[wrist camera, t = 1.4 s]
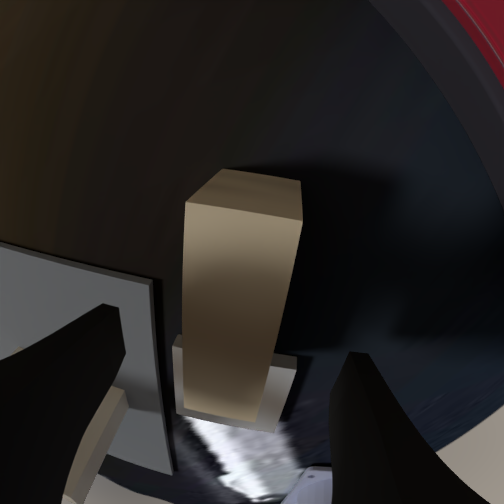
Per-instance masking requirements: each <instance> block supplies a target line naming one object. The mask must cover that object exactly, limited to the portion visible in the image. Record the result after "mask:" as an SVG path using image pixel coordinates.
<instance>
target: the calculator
mask: <svg viewBox="0 0 504 504" xmlns="http://www.w3.org/2000/svg"><path fill="white" fill-rule="evenodd" d="M368 1H369V2H370V3H371V4H372V5H373V6H374V7H375V8H376V9H377V10H378V11H379V13H380V14H381V15H382V16H383V17H384V18H385V19H386V20H387V21H388V23H389V24H390V25H391V26H392V27H393V28H394V30H395V31H396V32H397V33H398V34H399V36H400V37H401V38H402V39H403V40H404V42H405V43H406V44H407V45H408V47H409V48H410V49H411V50H412V52H413V53H414V54H415V56H416V57H417V58H418V60H419V61H420V62H421V64H422V65H423V66H424V68H425V69H426V71H427V72H428V73H429V75H430V76H431V78H432V79H433V81H434V82H435V84H436V85H437V87H438V88H439V89H440V91H441V92H442V94H443V95H444V97H445V98H446V100H447V102H448V103H449V105H450V106H451V108H452V109H453V111H454V113H455V114H456V116H457V118H458V119H459V121H460V123H461V124H462V126H463V128H464V129H465V131H466V133H467V135H468V136H469V138H470V140H471V142H472V144H473V146H474V147H475V149H476V151H477V153H478V155H479V157H480V159H481V161H482V163H483V165H484V167H485V169H486V171H487V173H488V175H489V178H490V180H491V182H492V184H493V186H494V189H495V191H496V193H497V196H498V198H499V200H500V203H501V205H502V208H503V211H504V0H368Z"/></svg>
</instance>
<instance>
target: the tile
mask: <svg viewBox="0 0 504 504" xmlns="http://www.w3.org/2000/svg"><path fill="white" fill-rule="evenodd" d="M21 350H23V348H21V347H19V346H18V347H17V349H16V350H15V351H14V352H13V353H12V354H11V355H13V354H15V353H17V352H19V351H21ZM11 355H10V356H11ZM128 408H129V405H128V401H127V398H126V394H125V390H123V389H120V388H117V387H114V386H111V387H110V389H109V391H108V392H107V394H106V396H105V398H104V399H103V401H102V403H101V404H100V406H99V408H98V410H97V411H96V413H95V415H94V417H93V418H92V420H91V422H90V424H89V425H88V427H87V429H86V431H85V433H84V435H83V437H82V440H81V442H80V445H79V447H78V450H77V453H76V455H75V458H74V461H73V464H72V467H71V470H70V473H69V476H68V479H67V482H66V486H65V490H64V494H63V498H64V499H66V500H68V501H70V502H71V503H74V504H83V503H84V501H85V499H86V497H87V494H88V492H89V490H90V488H91V486H92V483H93V481H94V479H95V477H96V475H97V472H98V470H99V468H100V466H101V464H102V462H103V460H104V457H105V455H106V453H107V451H108V449H109V447H110V445H111V443H112V441H113V438H114V436H115V434H116V432H117V430H118V428H119V426H120V424H121V422H122V420H123V418H124V416H125V414H126V412H127V410H128Z"/></svg>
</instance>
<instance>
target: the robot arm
mask: <svg viewBox="0 0 504 504" xmlns="http://www.w3.org/2000/svg"><path fill="white" fill-rule="evenodd" d="M125 355H126V349H125V344H124V338H123V331H122V325H121V318H120V311H119V307H115V306H112V305H108V304H104V303H102V304H101V305H99V306H97V307H95V308H93V309H92V310H90V311H88V312H87V313H85V314H83V315H82V316H80V317H78V318H77V319H75V320H74V321H72V322H70V323H69V324H67V325H65V326H64V327H62V328H60V329H59V330H57V331H55V332H54V333H52V334H50V335H49V336H47V337H45V338H43V339H41V340H40V341H38V342H36V343H34V344H32V345H31V346H29V347H27V348H25V349H23V350H21V351H19V352H17V353H15V354H13V355H11V356H8V357H6V358H4V359H2V360H0V504H61V501H62V498H63V494H64V490H65V486H66V482H67V479H68V476H69V473H70V470H71V467H72V464H73V461H74V458H75V455H76V453H77V450H78V447H79V445H80V442H81V440H82V437H83V435H84V433H85V431H86V429H87V427H88V425H89V424H90V422H91V420H92V418H93V417H94V415H95V413H96V411H97V410H98V408H99V406H100V404H101V403H102V401H103V399H104V398H105V396H106V394H107V392H108V391H109V389H110V387H111V385H112V384H113V382H114V380H115V378H116V376H117V374H118V371H119V369H120V367H121V364H122V362H123V359H124V357H125ZM329 433H330V449H331V465H332V467H321V466H312V467H308V468H307V469H306V470H305V472H304V473H303V475H302V476H301V477H300V479H299V480H298V482H297V483H296V484H295V486H294V487H293V488H292V490H291V491H290V492H289V494H288V495H287V496H286V498H285V499H284V500H283V502H282V503H281V504H490V503H489V502H487V501H486V500H485V499H483V498H482V497H481V496H480V495H478V494H477V493H476V492H475V491H473V490H472V489H471V488H470V487H468V486H467V485H466V484H465V483H464V482H463V481H462V480H461V479H460V478H459V477H458V476H457V475H456V474H455V473H454V472H453V471H452V470H451V469H450V468H449V467H448V466H447V465H446V464H445V463H444V462H443V461H442V460H441V459H440V458H439V457H438V455H437V454H436V453H435V452H434V451H433V449H432V448H431V447H430V446H429V445H428V443H427V442H426V441H425V440H424V438H423V437H422V436H421V435H420V433H419V432H418V430H417V429H416V428H415V426H414V425H413V423H412V422H411V421H410V419H409V418H408V416H407V415H406V413H405V412H404V411H403V409H402V407H401V406H400V404H399V403H398V401H397V400H396V398H395V397H394V395H393V393H392V392H391V390H390V389H389V387H388V385H387V384H386V382H385V380H384V379H383V377H382V375H381V374H380V372H379V371H378V369H377V367H376V366H375V364H374V362H373V361H372V359H371V358H370V356H369V354H367V353H358V352H349V354H348V356H347V358H346V361H345V363H344V365H343V367H342V369H341V372H340V374H339V376H338V378H337V380H336V382H335V384H334V386H333V389H332V391H331V393H330V405H329Z"/></svg>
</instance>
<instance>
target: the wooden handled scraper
mask: <svg viewBox="0 0 504 504" xmlns="http://www.w3.org/2000/svg"><path fill="white" fill-rule="evenodd" d="M302 223H303V213H302V197H301V182H300V181H298V180H292V179H286V178H281V177H275V176H269V175H262V174H256V173H249V172H243V171H236V170H229V169H222V170H221V171H219V172H218V173H217V174H216V175H215V176H214V177H213V178H212V179H210V180H209V181H208V182H207V183H206V184H205V185H204V186H203V187H202V188H200V189H199V190H198V191H197V192H196V193H195V194H194V195H193V196H192V197H191V198H190V199H188V200H187V201H186V207H185V226H184V250H183V287H182V335H180V334H178V335H177V337H176V339H175V341H174V344H173V346H172V350H173V370H174V387H175V401H176V413H177V414H180V415H184V416H188V417H192V418H197V419H201V420H205V421H210V422H214V423H219V424H224V425H229V426H234V427H240V428H245V429H251V430H257V431H264V432H271V433H274V432H275V429H276V426H277V424H278V421H279V418H280V416H281V413H282V410H283V407H284V405H285V402H286V399H287V396H288V393H289V391H290V388H291V385H292V382H293V379H294V376H295V373H296V370H297V357H295V356H288V355H282V354H275V353H273V352H274V348H275V344H276V340H277V336H278V332H279V328H280V323H281V319H282V315H283V311H284V306H285V302H286V298H287V293H288V289H289V284H290V280H291V275H292V271H293V266H294V262H295V257H296V252H297V248H298V243H299V238H300V233H301V228H302Z"/></svg>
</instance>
